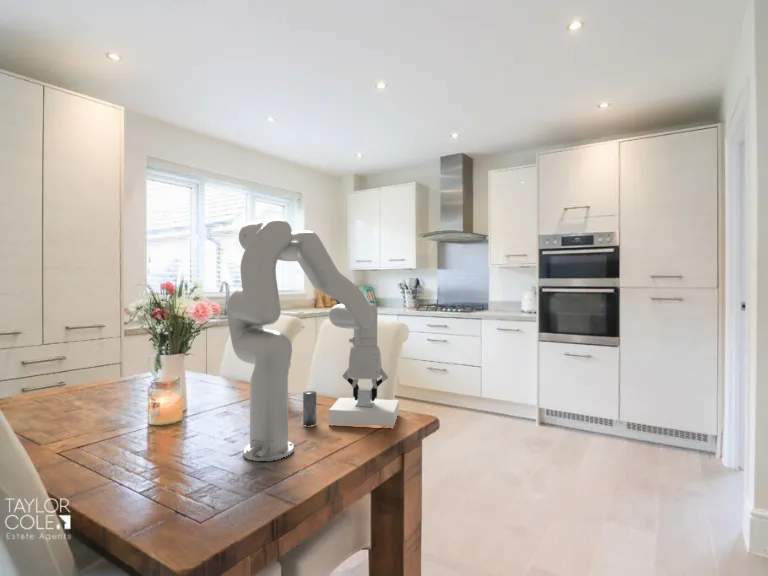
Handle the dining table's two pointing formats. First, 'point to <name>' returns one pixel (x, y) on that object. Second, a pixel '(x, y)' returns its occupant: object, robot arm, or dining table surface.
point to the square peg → (365, 397)
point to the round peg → (309, 408)
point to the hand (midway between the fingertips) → (365, 398)
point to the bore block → (363, 412)
